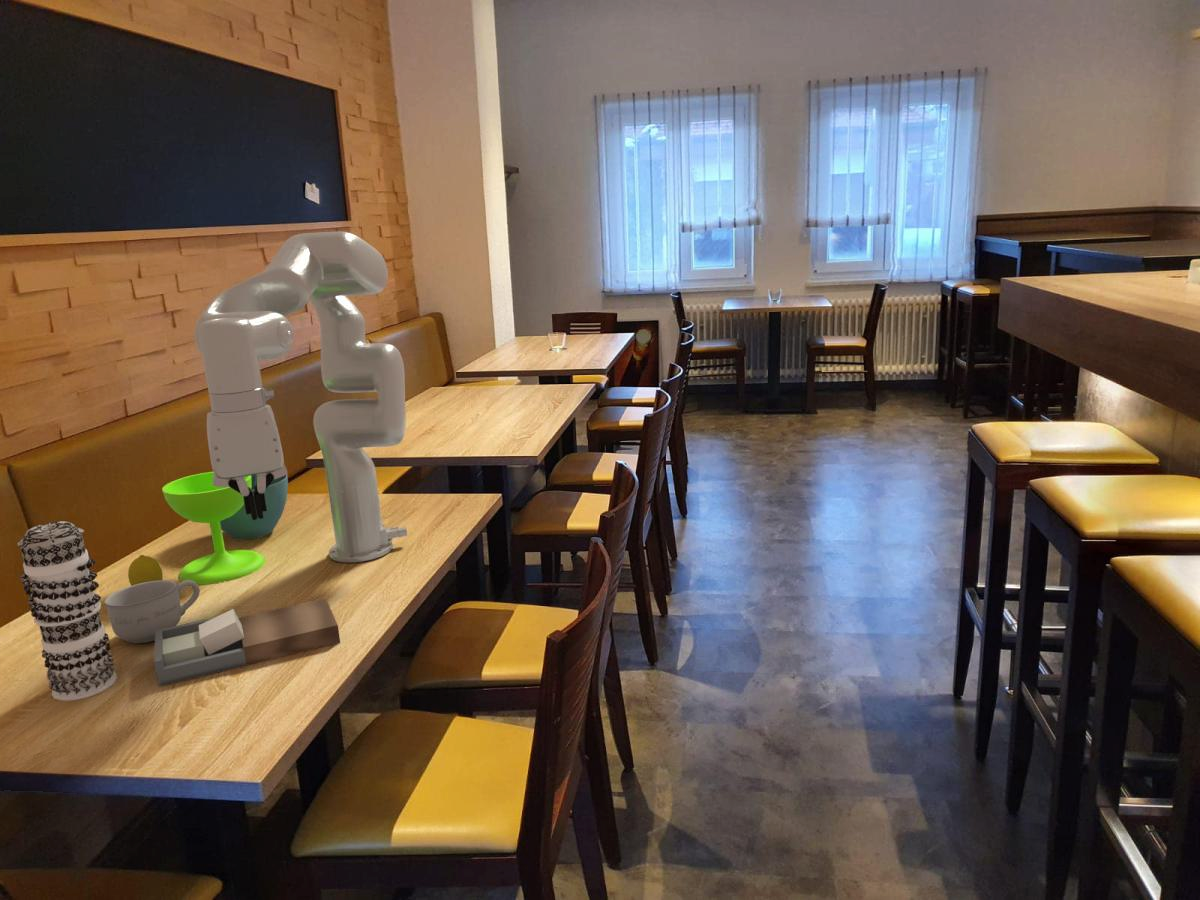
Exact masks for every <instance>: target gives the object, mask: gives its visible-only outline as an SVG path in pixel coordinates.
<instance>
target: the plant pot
mask: <svg viewBox="0 0 1200 900" xmlns="http://www.w3.org/2000/svg"><path fill="white" fill-rule="evenodd" d="M288 479H289V478H288V473H287V474H286V475H285V476H282V477H280V478H277V479H274V480H273V481H272V482H271V483H270V485H269V486H268V487H267V489H266V491H265V492H264V496H265V502H266V508H267V511H263V519H260V518H258V515H257V519H256V520H252V516H251V514H247V515H246V510H245V504H244V505H243V507H242V508H241V509H240V510H239V511H237V512H236V513H235V514H234V515H233V516H231V517H229V518H226V519H224V520H222V521H220V524H221V530H222V532H223V533H225V535H228V536H229V537H230V538H232V539H234V540H237V541H249V539H250V540H254V539H255V538H256V539H259V537H260V538H262V537H265V536H268V535H269V534H271V533H272V532H273V530H274V529H275V528H276V526H277V524H278V523H279V521H280V520H281V517H282V516H283V513H284V510H285V507H286V503H287V498H288V491H289V480H288ZM251 481H252V487H251V492H252V493H253V491H254V487H255V486H256V475H251ZM253 495H254V493H253ZM254 501H255V499H254ZM255 507H256V505H255ZM256 513H257V511H256Z"/></svg>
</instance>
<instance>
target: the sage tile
mask: <svg viewBox="0 0 1200 900" xmlns="http://www.w3.org/2000/svg"><path fill="white" fill-rule="evenodd" d="M202 657H206V656H205V647H204V646H203V644H202V642H201V640H200V636H199V631H198V632H194V633H190V634H185V635H181V636H176V637H172V638H168V639H163V658H164V663H165V666H169V665H173V664H177V663H181V662H185V661H190V660H194V659H198V658H202Z"/></svg>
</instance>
